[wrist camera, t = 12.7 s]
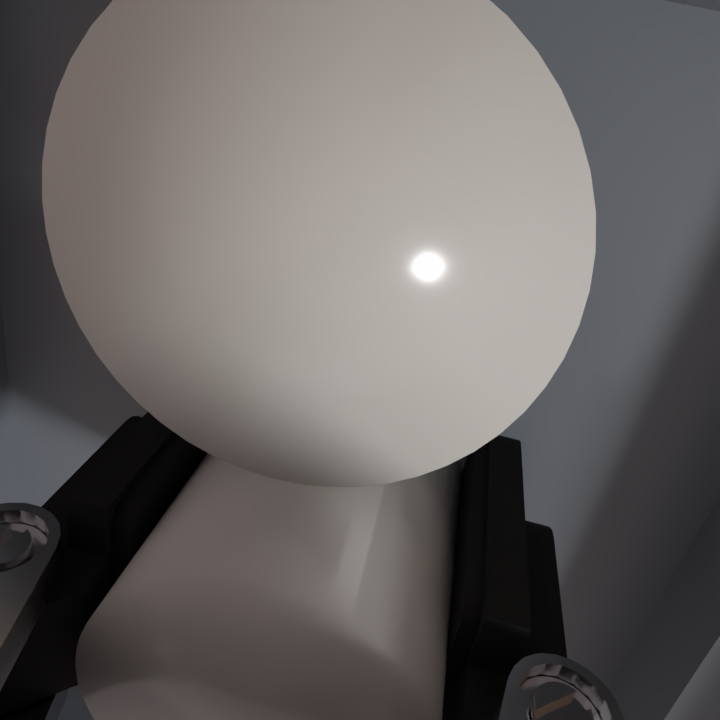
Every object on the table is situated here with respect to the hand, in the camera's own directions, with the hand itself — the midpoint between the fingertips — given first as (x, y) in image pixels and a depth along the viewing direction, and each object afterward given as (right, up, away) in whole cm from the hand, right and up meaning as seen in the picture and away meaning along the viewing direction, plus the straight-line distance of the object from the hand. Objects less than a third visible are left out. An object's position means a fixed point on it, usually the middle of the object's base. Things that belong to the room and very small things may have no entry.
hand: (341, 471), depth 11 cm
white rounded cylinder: (0, 0, 0) cm, 0 cm away
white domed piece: (+1, +5, -2) cm, 5 cm away
